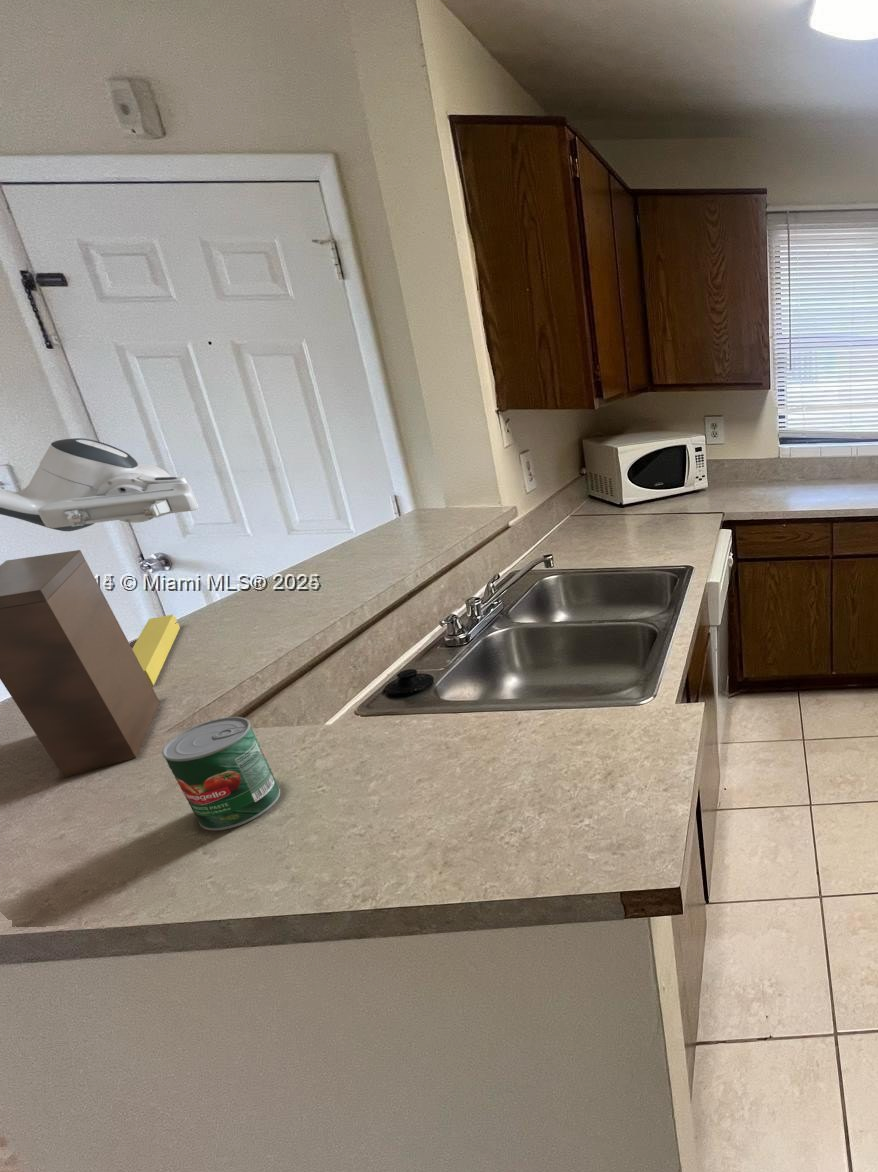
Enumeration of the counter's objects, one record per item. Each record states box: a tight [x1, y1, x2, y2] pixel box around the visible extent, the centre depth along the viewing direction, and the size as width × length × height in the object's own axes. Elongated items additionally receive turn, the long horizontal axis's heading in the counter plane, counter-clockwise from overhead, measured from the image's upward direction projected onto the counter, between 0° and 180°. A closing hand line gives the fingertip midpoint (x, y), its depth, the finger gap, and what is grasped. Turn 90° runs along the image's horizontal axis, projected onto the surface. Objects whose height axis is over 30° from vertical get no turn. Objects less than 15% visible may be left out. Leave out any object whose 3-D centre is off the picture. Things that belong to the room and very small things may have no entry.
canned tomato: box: [161, 716, 281, 832], centre depth 75 cm, size 8×8×11 cm
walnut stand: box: [0, 549, 160, 778], centre depth 84 cm, size 7×16×26 cm, turn 35°
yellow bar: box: [131, 614, 181, 687], centre depth 108 cm, size 4×24×3 cm, turn 35°
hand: (113, 517), depth 109 cm, fingers open, 8 cm apart
